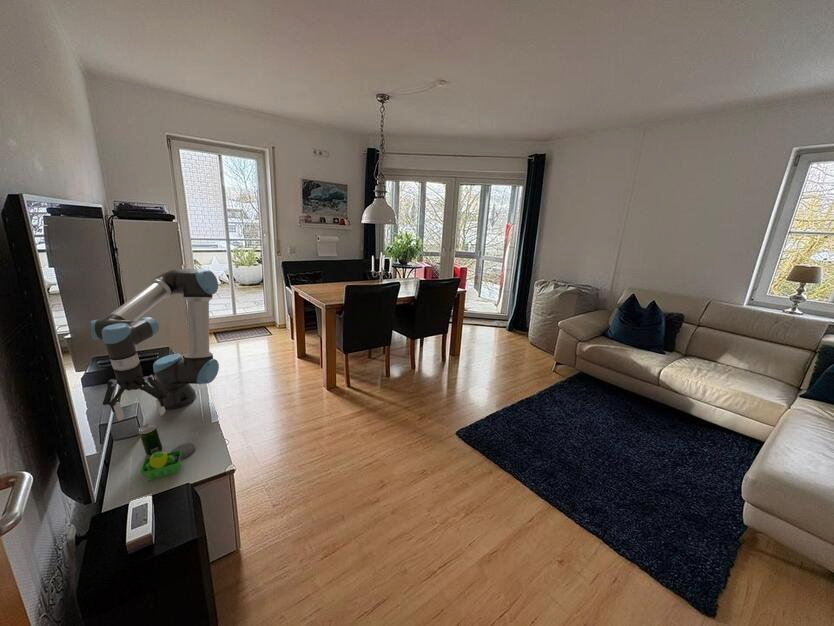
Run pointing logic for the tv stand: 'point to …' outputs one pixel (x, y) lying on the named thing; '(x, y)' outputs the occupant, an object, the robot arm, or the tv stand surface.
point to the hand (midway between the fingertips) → (142, 416)
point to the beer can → (150, 439)
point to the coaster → (185, 450)
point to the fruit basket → (161, 464)
